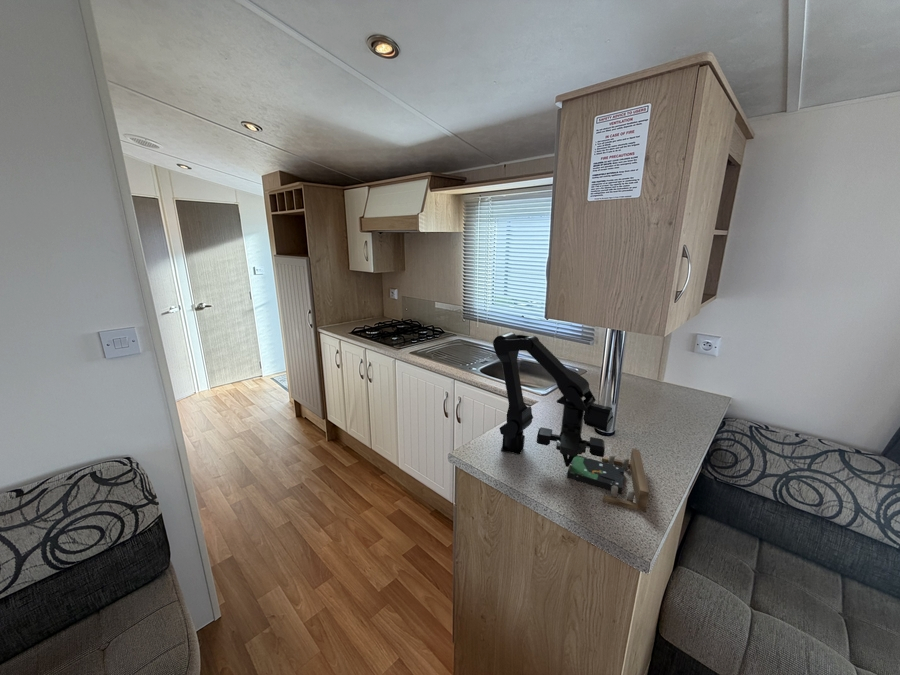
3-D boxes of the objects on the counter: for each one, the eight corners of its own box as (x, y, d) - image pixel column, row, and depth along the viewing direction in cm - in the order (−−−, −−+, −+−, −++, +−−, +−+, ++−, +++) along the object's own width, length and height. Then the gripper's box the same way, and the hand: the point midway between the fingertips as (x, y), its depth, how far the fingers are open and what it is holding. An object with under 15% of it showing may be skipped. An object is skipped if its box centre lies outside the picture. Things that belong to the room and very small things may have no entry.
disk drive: (623, 475, 105) (572, 460, 112) (624, 467, 105) (573, 453, 111) (621, 496, 97) (566, 479, 103) (623, 488, 96) (567, 471, 102)
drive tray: (603, 501, 94) (606, 482, 92) (601, 459, 112) (604, 443, 110) (645, 512, 90) (649, 492, 89) (636, 466, 109) (639, 449, 107)
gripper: (535, 426, 98) (531, 474, 102) (608, 440, 91) (600, 491, 95) (541, 409, 108) (537, 453, 112) (606, 421, 101) (600, 467, 105)
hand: (567, 466), depth 106 cm, fingers closed
